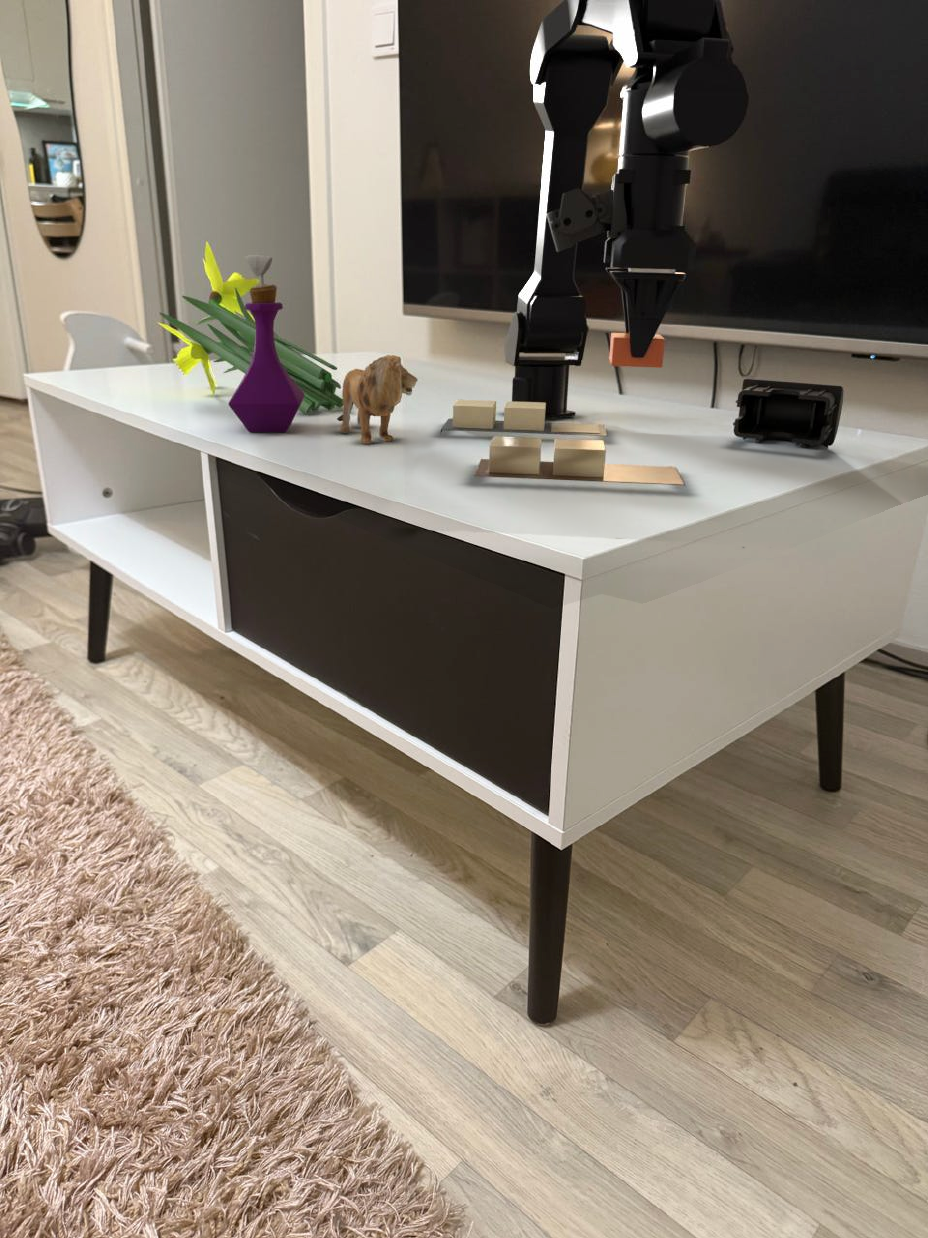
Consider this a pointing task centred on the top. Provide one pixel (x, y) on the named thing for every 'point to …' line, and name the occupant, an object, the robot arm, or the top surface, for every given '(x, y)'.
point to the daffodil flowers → (247, 341)
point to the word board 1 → (513, 419)
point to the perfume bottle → (265, 366)
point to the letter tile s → (622, 352)
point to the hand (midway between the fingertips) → (635, 354)
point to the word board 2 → (566, 463)
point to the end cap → (789, 411)
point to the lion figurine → (375, 394)
